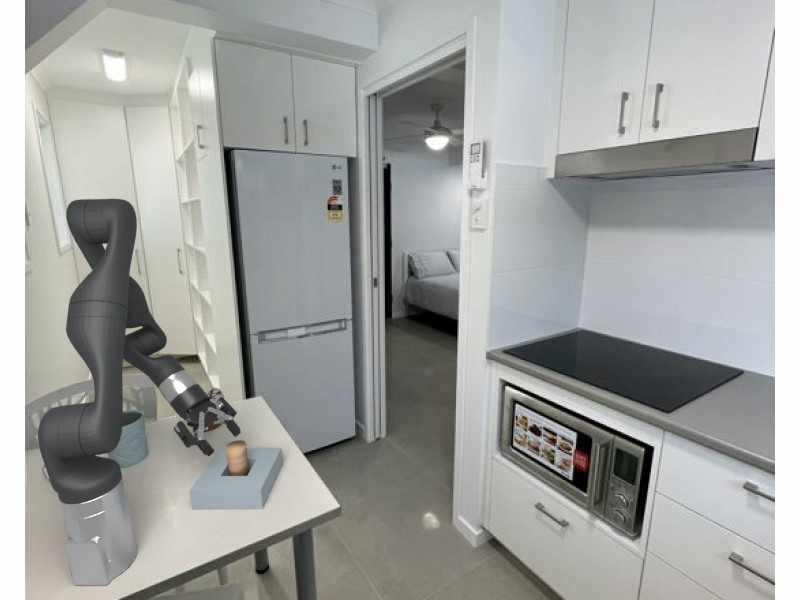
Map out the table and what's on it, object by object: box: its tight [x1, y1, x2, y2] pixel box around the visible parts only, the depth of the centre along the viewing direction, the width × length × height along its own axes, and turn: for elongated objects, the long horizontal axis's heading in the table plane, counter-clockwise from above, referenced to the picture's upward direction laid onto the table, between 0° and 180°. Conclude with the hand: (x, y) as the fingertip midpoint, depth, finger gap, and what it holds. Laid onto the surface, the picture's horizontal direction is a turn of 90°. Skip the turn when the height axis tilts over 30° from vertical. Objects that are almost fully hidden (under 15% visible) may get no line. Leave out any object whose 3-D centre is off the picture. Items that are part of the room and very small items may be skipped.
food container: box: [203, 386, 225, 434], centre depth 124 cm, size 12×6×10 cm, turn 179°
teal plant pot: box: [107, 409, 149, 469], centre depth 108 cm, size 10×10×12 cm
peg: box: [225, 439, 249, 476], centre depth 97 cm, size 4×4×11 cm
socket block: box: [188, 447, 284, 510], centre depth 98 cm, size 16×16×5 cm
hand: (225, 443), depth 97 cm, fingers open, 8 cm apart
